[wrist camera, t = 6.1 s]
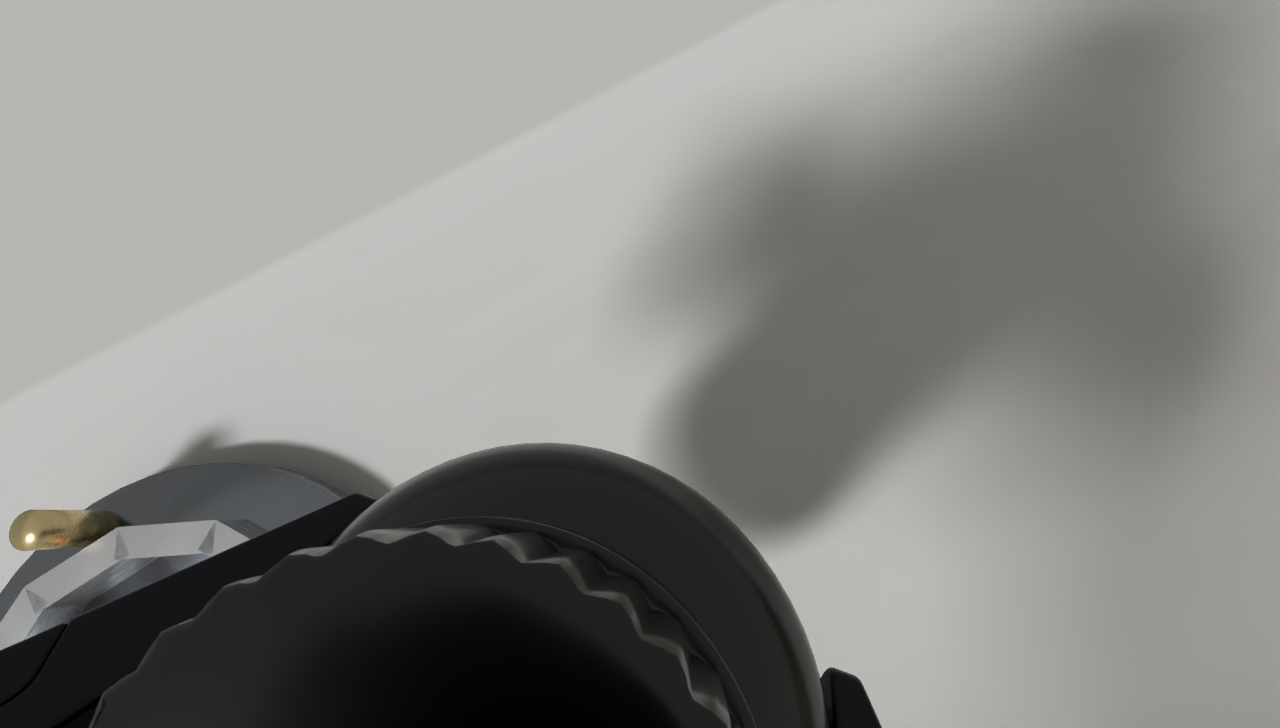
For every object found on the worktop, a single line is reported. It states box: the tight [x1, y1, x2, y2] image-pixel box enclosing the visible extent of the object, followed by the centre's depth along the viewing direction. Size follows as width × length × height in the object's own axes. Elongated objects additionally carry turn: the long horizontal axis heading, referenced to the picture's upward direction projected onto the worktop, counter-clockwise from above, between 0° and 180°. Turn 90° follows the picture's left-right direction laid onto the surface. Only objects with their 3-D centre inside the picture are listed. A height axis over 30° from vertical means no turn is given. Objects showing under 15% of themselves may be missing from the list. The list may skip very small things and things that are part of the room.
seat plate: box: [0, 463, 347, 650], centre depth 19 cm, size 16×16×4 cm
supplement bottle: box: [88, 443, 829, 728], centre depth 9 cm, size 7×7×12 cm
